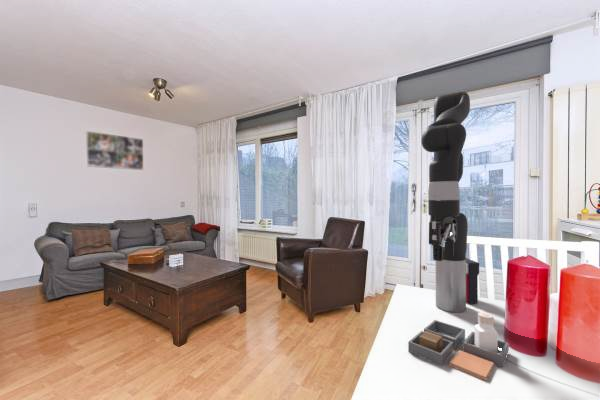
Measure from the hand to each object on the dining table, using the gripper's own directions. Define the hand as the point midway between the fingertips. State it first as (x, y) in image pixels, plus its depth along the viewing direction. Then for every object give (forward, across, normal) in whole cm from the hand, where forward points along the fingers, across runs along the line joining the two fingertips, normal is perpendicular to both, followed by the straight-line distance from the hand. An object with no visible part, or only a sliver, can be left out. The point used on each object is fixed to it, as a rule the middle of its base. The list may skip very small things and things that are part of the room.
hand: (443, 257), depth 72 cm
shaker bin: (+22, 0, +10) cm, 24 cm away
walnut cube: (+22, +9, 0) cm, 24 cm away
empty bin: (+22, 0, 0) cm, 22 cm away
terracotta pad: (+22, +8, +9) cm, 25 cm away
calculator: (+22, -36, -5) cm, 42 cm away
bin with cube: (+22, +9, 0) cm, 24 cm away
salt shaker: (+22, 0, +10) cm, 24 cm away
